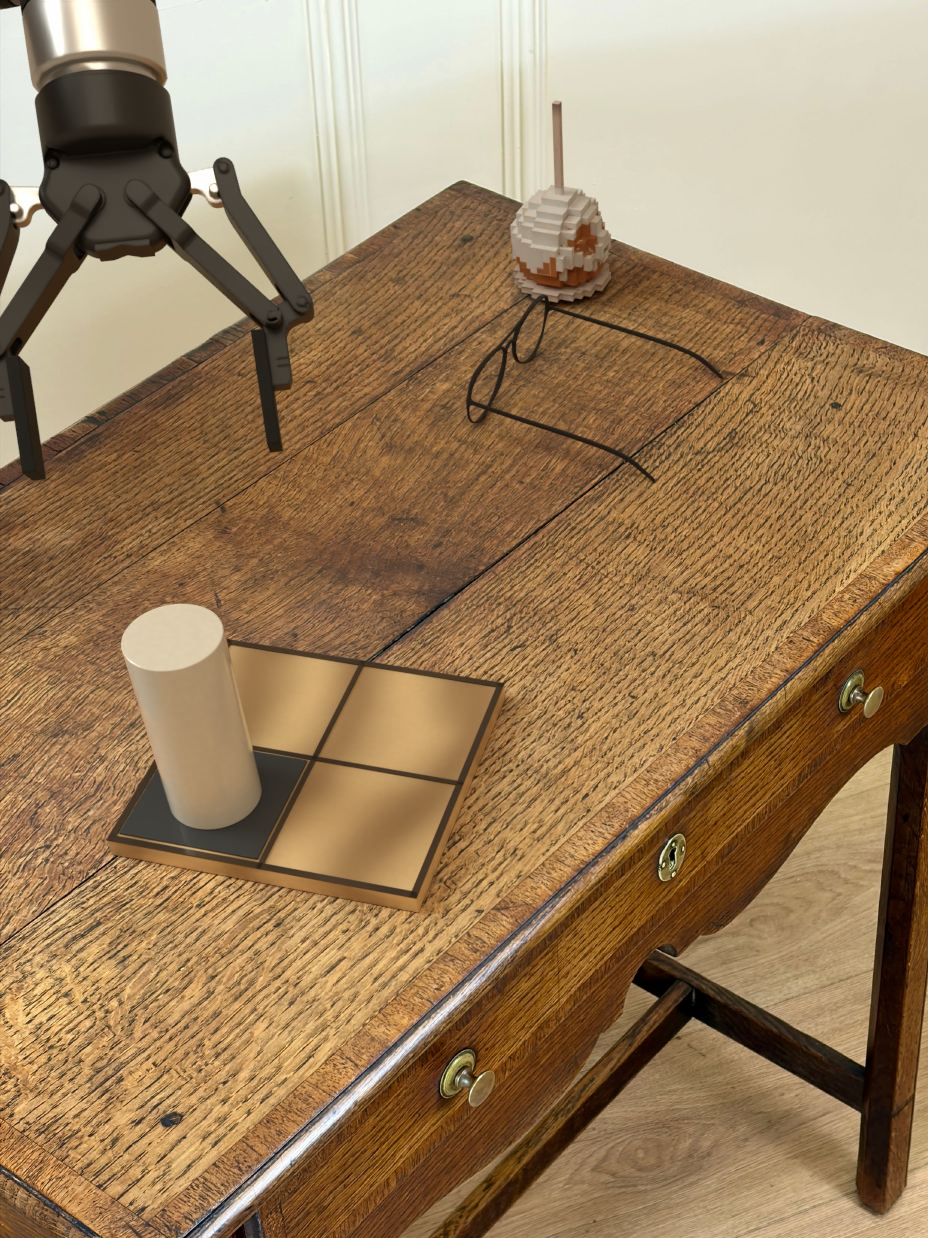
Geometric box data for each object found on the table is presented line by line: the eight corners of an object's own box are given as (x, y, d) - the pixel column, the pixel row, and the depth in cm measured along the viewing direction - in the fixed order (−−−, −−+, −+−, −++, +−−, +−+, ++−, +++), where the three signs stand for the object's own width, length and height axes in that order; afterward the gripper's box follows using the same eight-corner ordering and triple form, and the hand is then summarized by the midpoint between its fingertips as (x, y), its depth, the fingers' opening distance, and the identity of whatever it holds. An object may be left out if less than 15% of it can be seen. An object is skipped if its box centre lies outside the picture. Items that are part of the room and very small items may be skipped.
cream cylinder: (153, 821, 88) (102, 662, 79) (191, 755, 92) (147, 596, 83) (240, 837, 87) (198, 678, 78) (275, 770, 91) (239, 610, 82)
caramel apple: (589, 314, 127) (587, 131, 116) (500, 298, 129) (489, 117, 118) (622, 267, 132) (622, 88, 121) (535, 253, 134) (528, 75, 123)
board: (111, 854, 88) (105, 839, 87) (230, 654, 100) (226, 638, 99) (418, 913, 85) (416, 897, 84) (505, 698, 96) (504, 682, 95)
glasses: (543, 339, 124) (547, 283, 121) (720, 396, 121) (730, 341, 117) (462, 437, 115) (464, 380, 112) (651, 502, 112) (660, 445, 108)
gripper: (323, 97, 95) (373, 448, 96) (-104, 137, 92) (-51, 498, 93) (318, 42, 88) (372, 423, 88) (-147, 84, 85) (-89, 477, 85)
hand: (155, 462), depth 91 cm, fingers open, 13 cm apart
